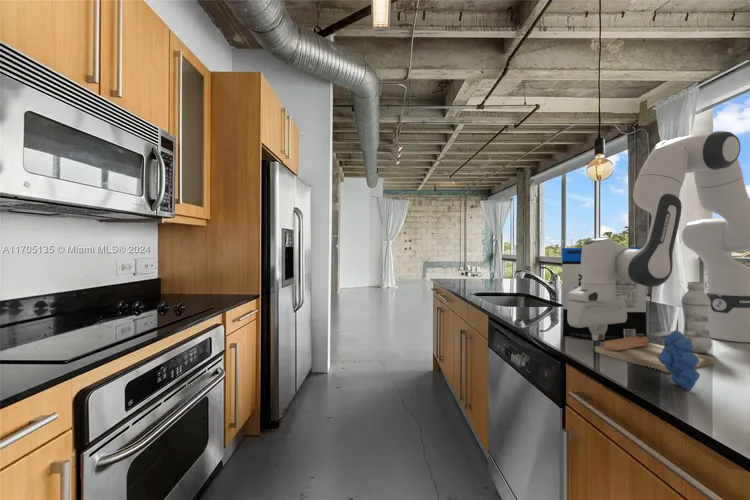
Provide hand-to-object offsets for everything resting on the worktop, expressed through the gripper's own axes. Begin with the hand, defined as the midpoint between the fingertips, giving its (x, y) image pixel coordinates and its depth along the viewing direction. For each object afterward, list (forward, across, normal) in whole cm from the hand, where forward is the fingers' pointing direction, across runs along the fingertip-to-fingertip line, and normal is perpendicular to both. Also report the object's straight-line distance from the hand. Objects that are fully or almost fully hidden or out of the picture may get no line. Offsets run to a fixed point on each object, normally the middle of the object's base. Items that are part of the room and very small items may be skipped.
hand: (598, 339), depth 113 cm
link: (+1, -4, +5) cm, 7 cm away
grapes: (+4, +9, +26) cm, 28 cm away
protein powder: (+3, -14, -10) cm, 18 cm away
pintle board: (+3, -7, +10) cm, 13 cm away
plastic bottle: (+3, -23, +12) cm, 27 cm away
